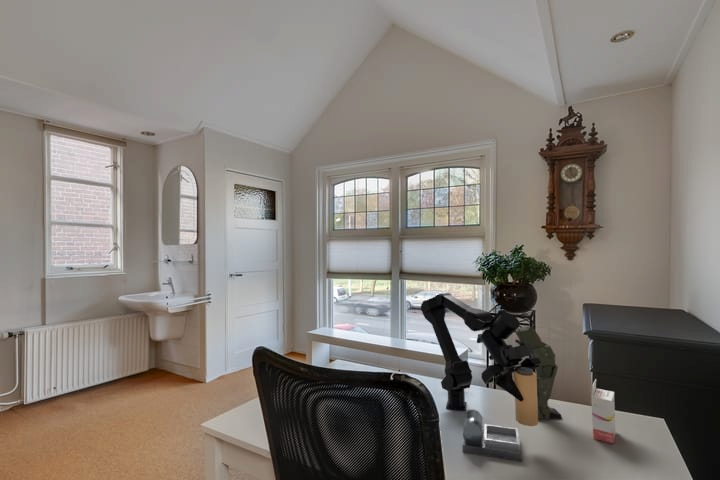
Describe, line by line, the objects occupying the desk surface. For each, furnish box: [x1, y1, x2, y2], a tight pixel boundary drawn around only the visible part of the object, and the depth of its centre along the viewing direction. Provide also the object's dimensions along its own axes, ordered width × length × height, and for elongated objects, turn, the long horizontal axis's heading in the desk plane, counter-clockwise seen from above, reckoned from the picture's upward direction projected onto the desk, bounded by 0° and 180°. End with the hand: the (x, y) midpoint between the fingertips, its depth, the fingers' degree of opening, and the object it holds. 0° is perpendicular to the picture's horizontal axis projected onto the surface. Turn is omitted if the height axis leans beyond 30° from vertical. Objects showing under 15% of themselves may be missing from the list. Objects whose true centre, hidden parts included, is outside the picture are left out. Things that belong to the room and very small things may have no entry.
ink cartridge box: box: [591, 378, 617, 444], centre depth 102 cm, size 9×5×15 cm, turn 141°
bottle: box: [513, 367, 539, 427], centre depth 97 cm, size 6×6×14 cm
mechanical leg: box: [514, 325, 563, 420], centre depth 116 cm, size 14×7×30 cm, turn 85°
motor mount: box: [462, 409, 522, 463], centre depth 98 cm, size 12×14×7 cm
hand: (530, 398), depth 96 cm, fingers closed on bottle, 6 cm apart
